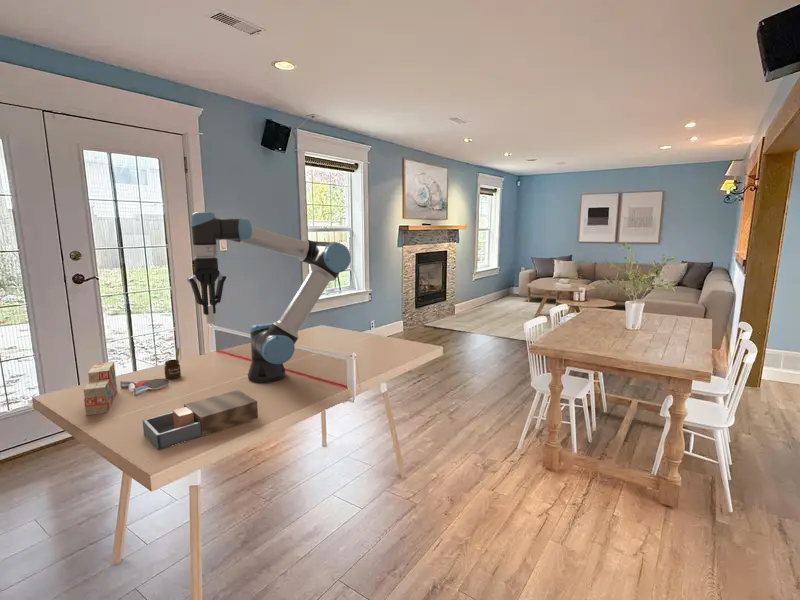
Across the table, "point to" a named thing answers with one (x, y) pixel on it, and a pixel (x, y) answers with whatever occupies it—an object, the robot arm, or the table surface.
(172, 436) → the box
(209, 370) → the table surface
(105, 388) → the stack of blocks
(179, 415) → the salmon orange block
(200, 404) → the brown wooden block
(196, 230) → the robot arm
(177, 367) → the utensil holder
